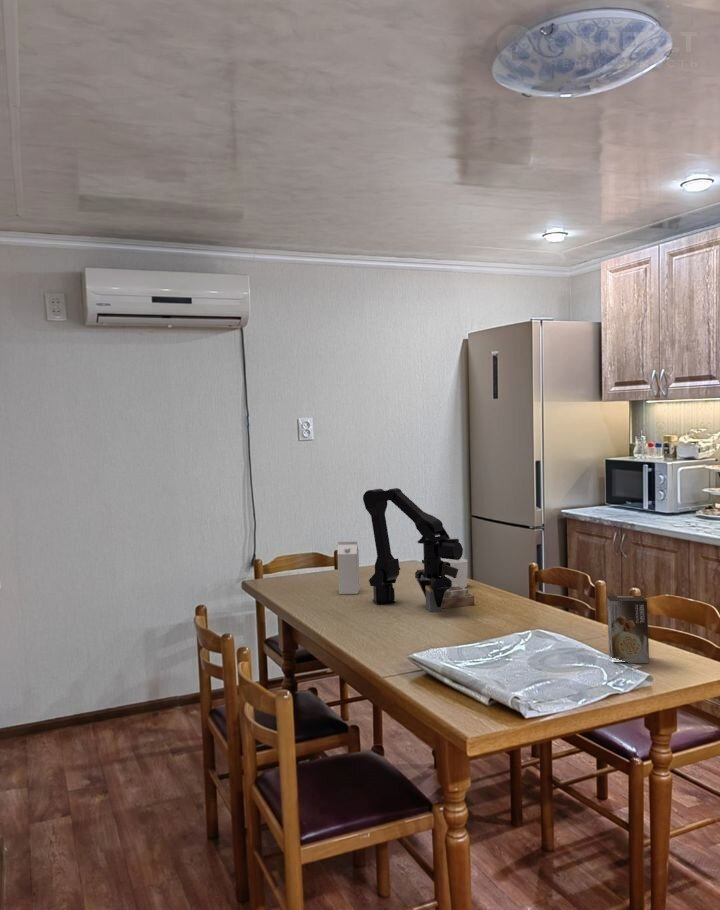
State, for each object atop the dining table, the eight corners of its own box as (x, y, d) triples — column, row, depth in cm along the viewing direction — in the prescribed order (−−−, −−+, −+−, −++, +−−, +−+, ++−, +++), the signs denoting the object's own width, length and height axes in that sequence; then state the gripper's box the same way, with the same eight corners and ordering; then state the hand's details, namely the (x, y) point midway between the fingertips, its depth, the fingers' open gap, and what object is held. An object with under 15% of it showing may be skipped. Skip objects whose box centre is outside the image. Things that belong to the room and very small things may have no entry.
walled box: (441, 608, 255) (440, 593, 255) (429, 601, 266) (429, 587, 265) (474, 605, 258) (473, 590, 258) (461, 598, 269) (461, 584, 269)
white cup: (472, 587, 286) (471, 560, 286) (456, 590, 282) (455, 563, 282) (459, 583, 293) (458, 557, 292) (442, 586, 289) (442, 560, 288)
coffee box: (644, 656, 198) (643, 594, 197) (649, 664, 192) (648, 600, 191) (608, 655, 200) (606, 594, 199) (611, 663, 193) (610, 600, 193)
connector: (430, 612, 251) (429, 588, 251) (426, 609, 255) (425, 585, 254) (441, 611, 252) (441, 587, 252) (437, 608, 256) (436, 584, 255)
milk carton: (341, 590, 288) (339, 540, 287) (359, 590, 288) (358, 539, 287) (338, 594, 281) (337, 543, 280) (358, 594, 280) (356, 542, 280)
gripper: (466, 560, 246) (467, 608, 246) (444, 551, 264) (445, 595, 264) (433, 562, 243) (435, 611, 243) (414, 553, 261) (415, 598, 261)
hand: (433, 604), depth 253 cm, fingers open, 9 cm apart
